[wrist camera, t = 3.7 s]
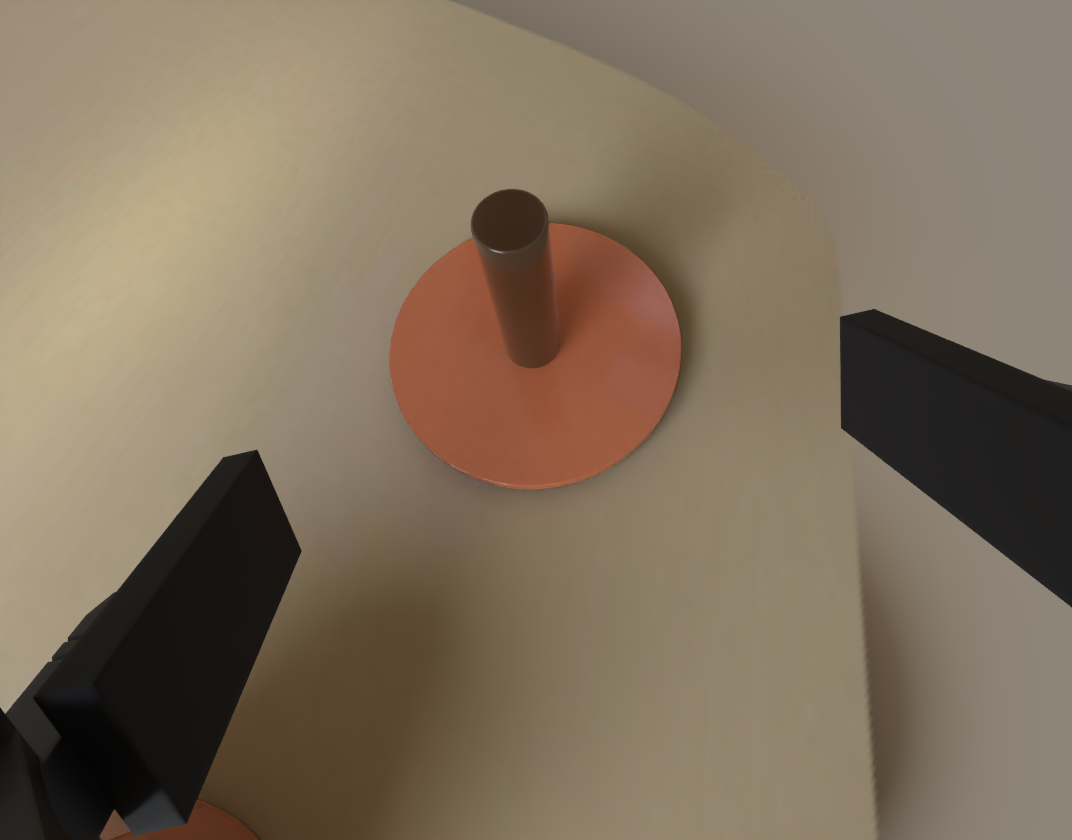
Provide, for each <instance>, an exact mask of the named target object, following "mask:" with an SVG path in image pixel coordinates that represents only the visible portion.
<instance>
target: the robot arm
mask: <svg viewBox="0 0 1072 840" xmlns="http://www.w3.org/2000/svg"><path fill="white" fill-rule="evenodd" d="M840 360H841V428H842V429H843V430H844V431H846V432H847V433H848V434H849V435H851V436H852V437H853V438H855V439H856V440H857V441H859V442H860V443H861V444H863V445H864V446H865V447H866V448H867V449H869V450H870V451H871V452H873V453H874V454H875V455H876V456H878V457H879V458H881V459H882V460H883V461H884V462H885V463H887V464H888V465H890V466H891V467H892V468H893V469H894V470H896V471H897V472H898V473H900V474H901V475H902V476H904V477H905V478H906V479H907V480H909V481H910V482H911V483H913V484H914V485H915V486H916V487H918V488H919V489H920V490H921V491H923V492H924V493H926V494H927V495H928V496H929V497H931V498H932V499H933V500H934V501H936V502H937V503H938V504H940V505H941V506H942V507H943V508H945V509H946V510H947V511H949V512H950V513H951V514H952V515H954V516H955V517H956V518H958V519H959V520H960V521H961V522H963V523H964V524H965V525H967V526H968V527H969V528H971V529H972V530H973V531H974V532H976V533H977V534H978V535H979V536H981V537H982V538H983V539H985V540H986V541H987V542H989V543H990V544H991V545H992V546H994V547H995V548H996V549H997V550H999V551H1000V552H1001V553H1003V554H1004V555H1005V556H1006V557H1008V558H1009V559H1010V560H1012V561H1013V562H1014V563H1015V564H1017V565H1018V566H1019V567H1021V568H1022V569H1023V570H1025V571H1026V572H1027V573H1028V574H1030V575H1031V576H1032V577H1033V578H1035V579H1036V580H1037V581H1039V582H1040V583H1041V584H1042V585H1044V586H1045V587H1046V588H1048V589H1049V590H1050V591H1051V592H1053V593H1054V594H1055V595H1057V596H1058V597H1059V598H1061V599H1062V600H1063V601H1064V602H1066V603H1067V604H1068V605H1070V606H1071V607H1072V386H1071V385H1066V384H1062V383H1057V382H1052V381H1047V380H1043V379H1041V378H1038V377H1036V376H1034V375H1031V374H1029V373H1026V372H1024V371H1022V370H1019V369H1017V368H1014V367H1012V366H1010V365H1007V364H1005V363H1002V362H1000V361H998V360H995V359H993V358H990V357H988V356H986V355H983V354H981V353H978V352H976V351H974V350H971V349H969V348H966V347H964V346H962V345H959V344H957V343H954V342H952V341H950V340H947V339H945V338H942V337H939V336H938V335H935V334H933V333H930V332H928V331H926V330H923V329H920V328H918V327H916V326H914V325H911V324H909V323H906V322H904V321H902V320H899V319H897V318H894V317H892V316H890V315H887V314H885V313H882V312H880V311H877V310H875V309H872V310H868V311H864V312H859V313H855V314H850V315H846V316H842V317H840ZM300 554H301V548H300V546H299V544H298V541H297V539H296V537H295V535H294V532H293V530H292V528H291V525H290V523H289V521H288V519H287V516H286V514H285V512H284V510H283V507H282V505H281V503H280V500H279V498H278V496H277V494H276V491H275V489H274V487H273V484H272V482H271V480H270V478H269V475H268V473H267V471H266V468H265V466H264V464H263V462H262V459H261V457H260V455H259V452H258V450H254V451H249V452H245V453H241V454H236V455H232V456H227V457H223V458H222V460H221V461H220V462H219V464H218V465H217V466H216V467H215V469H214V470H213V471H212V472H211V474H210V475H209V476H208V477H207V479H206V480H205V481H204V482H203V484H202V485H201V486H200V487H199V489H198V490H197V491H196V492H195V494H194V495H193V496H192V498H191V499H190V500H189V501H188V503H187V504H186V505H185V506H184V508H183V509H182V510H181V511H180V513H179V514H178V515H177V516H176V518H175V519H174V520H173V521H172V523H171V524H170V525H169V526H168V528H167V529H166V530H165V532H164V533H163V534H162V535H161V537H160V538H159V539H158V540H157V542H156V543H155V544H154V545H153V547H152V548H151V549H150V550H149V552H148V553H147V554H146V555H145V557H144V558H143V559H142V560H141V562H140V563H139V564H138V565H137V567H136V568H135V569H134V571H133V572H132V573H131V574H130V576H129V577H128V578H127V579H126V581H125V582H124V583H123V584H122V586H121V587H120V588H119V589H118V591H117V592H115V593H113V594H112V595H111V596H109V597H108V598H107V599H106V600H104V601H103V602H102V603H101V604H99V605H98V606H97V607H96V608H95V609H93V610H92V611H91V612H90V613H88V614H87V615H86V616H85V617H84V619H83V620H82V621H81V622H80V624H79V625H78V626H77V627H76V628H75V630H74V631H73V632H72V633H71V635H70V636H69V637H68V642H65V643H63V644H62V645H61V647H60V648H59V649H58V650H57V652H56V653H55V654H54V655H53V656H52V661H51V662H48V663H47V664H46V665H45V666H44V667H43V669H42V670H41V671H40V672H39V674H38V675H37V676H36V677H35V678H34V680H33V681H32V682H31V683H30V685H29V686H28V687H27V688H26V689H25V691H24V692H23V693H22V694H21V696H20V697H19V698H18V699H17V700H16V702H15V703H14V704H13V705H12V707H11V708H10V709H9V710H8V711H7V713H6V714H5V713H4V712H3V711H2V709H1V708H0V840H102V839H101V837H100V835H101V833H102V831H103V829H104V827H105V825H106V824H107V822H108V820H109V818H110V816H111V814H112V812H113V811H114V809H115V810H116V812H117V813H118V814H119V816H120V817H121V819H122V820H123V821H124V823H125V824H126V825H127V827H128V828H129V829H130V831H131V832H132V833H133V835H134V836H136V835H140V834H145V833H149V832H153V831H158V830H162V829H167V828H171V827H175V826H180V825H184V824H187V822H188V820H189V817H190V815H191V813H192V810H193V808H194V805H195V803H196V801H197V798H198V796H199V794H200V791H201V789H202V786H203V784H204V782H205V779H206V777H207V775H208V772H209V770H210V767H211V765H212V763H213V760H214V758H215V756H216V753H217V751H218V748H219V746H220V744H221V741H222V739H223V736H224V734H225V732H226V729H227V727H228V725H229V722H230V720H231V717H232V715H233V713H234V710H235V708H236V706H237V703H238V701H239V698H240V696H241V694H242V691H243V689H244V687H245V684H246V682H247V679H248V677H249V675H250V672H251V670H252V668H253V665H254V663H255V660H256V658H257V656H258V653H259V651H260V649H261V646H262V644H263V641H264V639H265V637H266V634H267V632H268V630H269V627H270V625H271V622H272V620H273V618H274V615H275V613H276V611H277V608H278V606H279V603H280V601H281V599H282V596H283V594H284V592H285V589H286V587H287V584H288V582H289V580H290V577H291V575H292V573H293V570H294V568H295V565H296V563H297V561H298V558H299V556H300Z"/></svg>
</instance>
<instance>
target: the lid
mask: <svg viewBox="0 0 1072 840" xmlns="http://www.w3.org/2000/svg"><path fill="white" fill-rule="evenodd" d="M471 231H472V235H473V238H472V239H470V240H468V241H466V242H464V243H462V244H460V245H459V246H457V247H456V248H454V249H452V250H451V251H449V252H448V253H446V254H445V255H444V256H443V257H442V258H440V259H439V260H438V261H437V262H435V263H434V264H433V265H432V266H431V267H430V268H429V269H428V270H427V271H426V272H425V273H424V274H423V275H422V277H421V278H420V279H419V281H418V282H417V283H416V284H415V286H414V287H413V288H412V290H411V291H410V293H409V295H408V297H407V298H406V300H405V302H404V303H403V305H402V308H401V310H400V313H399V315H398V317H397V320H396V323H395V327H394V331H393V334H392V339H391V347H390V374H391V380H392V386H393V390H394V393H395V397H396V400H397V403H398V405H399V407H400V409H401V411H402V414H403V416H404V418H405V420H406V421H407V423H408V424H409V426H410V427H411V429H412V430H413V431H414V433H415V434H416V436H417V437H418V438H419V439H420V440H421V441H422V443H423V444H424V445H425V446H426V447H427V448H428V449H429V450H430V451H431V452H432V453H433V454H434V455H436V456H437V457H438V458H439V459H441V460H442V461H443V462H444V463H446V464H447V465H449V466H451V467H452V468H454V469H455V470H457V471H459V472H460V473H462V474H465V475H467V476H469V477H472V478H474V479H476V480H479V481H482V482H485V483H489V484H492V485H496V486H501V487H508V488H515V489H545V488H554V487H561V486H565V485H569V484H573V483H577V482H580V481H583V480H585V479H588V478H590V477H593V476H596V475H598V474H600V473H602V472H604V471H605V470H607V469H609V468H611V467H613V466H615V465H616V464H618V463H619V462H620V461H622V460H623V459H624V458H626V457H627V456H629V455H630V454H631V453H632V452H633V451H635V450H636V449H637V448H638V447H639V446H640V445H641V444H642V443H643V442H644V441H645V440H646V439H647V438H648V436H649V435H650V434H651V433H652V431H653V430H654V429H655V428H656V426H657V425H658V423H659V422H660V420H661V418H662V417H663V415H664V413H665V412H666V410H667V408H668V406H669V403H670V401H671V398H672V396H673V393H674V391H675V388H676V384H677V380H678V376H679V372H680V365H681V354H682V347H681V332H680V327H679V322H678V317H677V315H676V312H675V309H674V306H673V303H672V301H671V299H670V297H669V295H668V293H667V291H666V290H665V288H664V286H663V284H662V283H661V282H660V280H659V279H658V278H657V276H656V275H655V273H654V272H653V271H652V270H651V269H650V268H649V267H648V266H647V265H646V264H645V263H644V262H643V261H642V260H641V259H640V258H639V257H638V256H636V255H635V254H634V253H633V252H632V251H630V250H629V249H628V248H626V247H624V246H623V245H621V244H619V243H618V242H616V241H615V240H613V239H611V238H608V237H606V236H604V235H602V234H600V233H597V232H594V231H591V230H588V229H585V228H582V227H577V226H572V225H567V224H558V223H549V222H548V214H547V210H546V208H545V206H544V205H543V203H542V202H541V201H540V200H539V199H538V198H537V197H536V196H534V195H533V194H531V193H529V192H526V191H523V190H518V189H506V190H501V191H498V192H495V193H493V194H491V195H489V196H487V197H486V198H484V199H483V200H482V201H481V202H480V203H479V204H478V206H477V207H476V209H475V210H474V213H473V215H472V219H471Z"/></svg>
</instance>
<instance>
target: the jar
mask: <svg viewBox="0 0 1072 840" xmlns="http://www.w3.org/2000/svg"><path fill="white" fill-rule="evenodd" d="M100 837H101V839H102V840H259V839H258V838H257V837H256V836H255V834H254V833H253V832H252V831H251V830H249V829H248V828H247V827H246V826H245V825H244V824H242V823H241V822H240V821H239V820H238V819H236V818H235V817H233V816H232V815H230V814H228V813H227V812H225V811H224V810H222V809H220V808H218V807H216V806H213V805H211V804H208V803H206V802H203V801H200V800H197V801H196V803H195V805H194V808H193V810H192V813H191V815H190V817H189V820H188V822H187V824H184V825H180V826H175V827H171V828H167V829H162V830H158V831H153V832H149V833H145V834H140V835H136V836H134V835H133V833H132V832H131V831H130V829H129V828H128V827H127V825H126V824H125V823H124V821H123V820H122V819H121V817H120V816H119V814H118V813H117V812H116V810H115V809H114V811H113V812H112V814H111V816H110V818H109V820H108V822H107V824H106V825H105V827H104V829H103V831H102V833H101V835H100Z"/></svg>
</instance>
